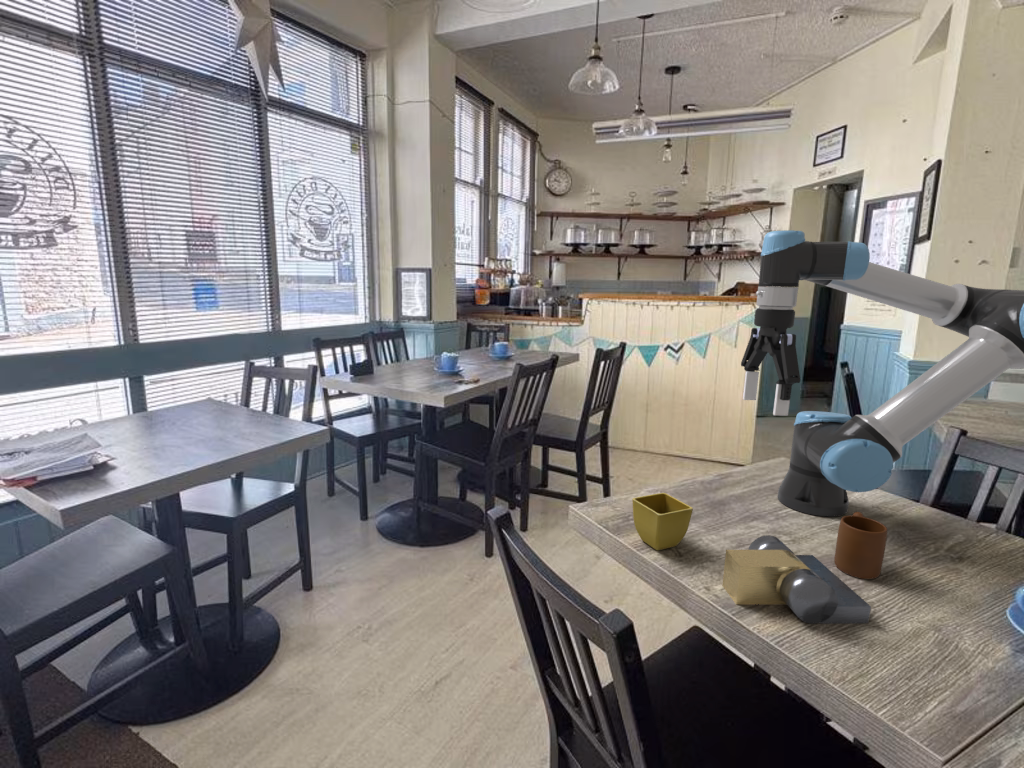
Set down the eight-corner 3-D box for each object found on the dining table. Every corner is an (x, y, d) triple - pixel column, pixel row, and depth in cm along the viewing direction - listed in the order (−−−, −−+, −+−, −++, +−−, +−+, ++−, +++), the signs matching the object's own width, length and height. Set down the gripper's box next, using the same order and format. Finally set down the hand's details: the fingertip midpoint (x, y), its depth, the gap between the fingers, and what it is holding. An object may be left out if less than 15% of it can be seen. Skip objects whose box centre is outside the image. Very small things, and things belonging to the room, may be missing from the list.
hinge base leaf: (810, 569, 101) (815, 535, 100) (868, 623, 86) (874, 583, 84) (745, 569, 101) (749, 535, 100) (791, 623, 85) (797, 583, 84)
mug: (829, 546, 111) (836, 503, 109) (873, 554, 107) (880, 511, 106) (835, 574, 100) (842, 527, 98) (883, 584, 97) (892, 536, 95)
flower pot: (661, 530, 116) (664, 491, 114) (690, 549, 108) (694, 507, 106) (628, 538, 112) (631, 498, 111) (656, 558, 105) (659, 515, 103)
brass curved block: (796, 585, 96) (801, 549, 95) (814, 604, 91) (820, 566, 89) (722, 585, 96) (726, 549, 94) (736, 604, 90) (740, 566, 89)
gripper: (731, 304, 123) (722, 394, 128) (790, 311, 99) (776, 422, 103) (763, 304, 124) (753, 394, 128) (829, 312, 99) (814, 422, 104)
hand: (763, 407), depth 116 cm, fingers open, 13 cm apart
